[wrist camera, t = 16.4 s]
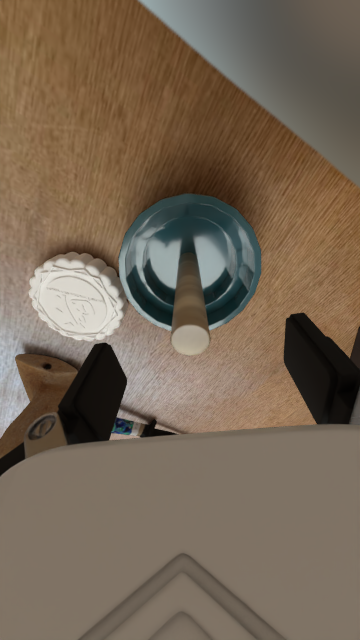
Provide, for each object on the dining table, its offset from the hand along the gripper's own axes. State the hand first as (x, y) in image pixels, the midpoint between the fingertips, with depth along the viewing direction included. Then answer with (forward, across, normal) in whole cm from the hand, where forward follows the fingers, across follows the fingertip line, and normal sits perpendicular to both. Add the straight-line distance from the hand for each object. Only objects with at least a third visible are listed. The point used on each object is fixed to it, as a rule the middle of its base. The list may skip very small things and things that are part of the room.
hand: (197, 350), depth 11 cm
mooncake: (+18, +16, +2) cm, 24 cm away
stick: (+17, +1, 0) cm, 17 cm away
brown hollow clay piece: (+18, +28, +18) cm, 38 cm away
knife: (+18, +13, +35) cm, 41 cm away
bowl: (+18, +1, 0) cm, 18 cm away
